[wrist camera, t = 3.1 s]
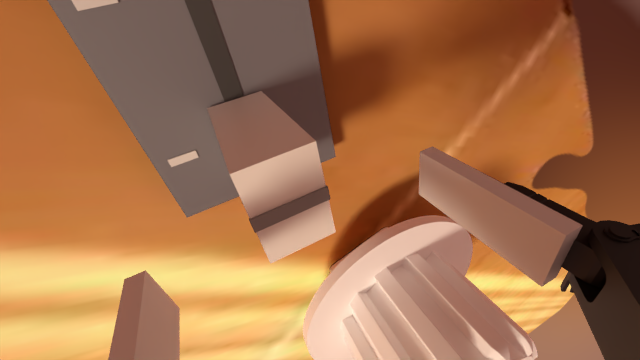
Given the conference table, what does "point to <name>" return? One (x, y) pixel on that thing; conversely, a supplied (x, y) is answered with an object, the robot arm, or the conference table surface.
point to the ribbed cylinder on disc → (410, 301)
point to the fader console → (199, 77)
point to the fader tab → (274, 173)
